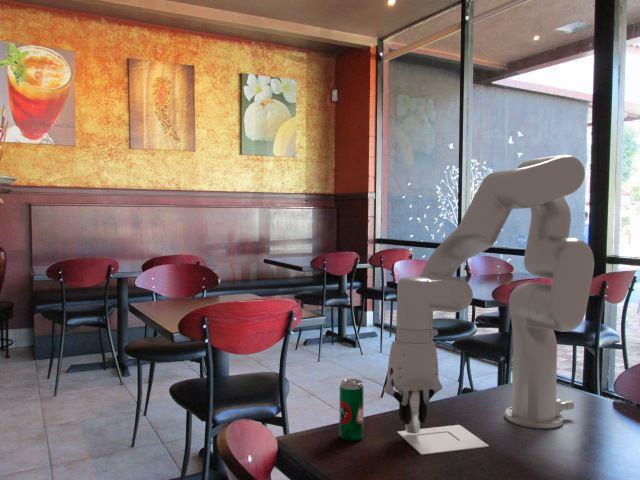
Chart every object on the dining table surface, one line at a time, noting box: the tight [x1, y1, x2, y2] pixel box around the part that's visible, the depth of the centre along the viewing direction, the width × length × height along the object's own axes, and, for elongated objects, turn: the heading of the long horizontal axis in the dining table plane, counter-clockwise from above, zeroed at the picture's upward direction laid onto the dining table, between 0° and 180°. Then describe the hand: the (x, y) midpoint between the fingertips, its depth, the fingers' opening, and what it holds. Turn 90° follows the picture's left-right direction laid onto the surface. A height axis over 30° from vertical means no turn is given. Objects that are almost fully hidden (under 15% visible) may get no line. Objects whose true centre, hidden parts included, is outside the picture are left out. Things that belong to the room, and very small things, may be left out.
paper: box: [397, 424, 490, 456], centre depth 118 cm, size 15×12×1 cm
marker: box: [404, 390, 421, 434], centre depth 119 cm, size 3×3×11 cm
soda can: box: [339, 378, 365, 442], centre depth 119 cm, size 5×5×12 cm
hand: (412, 420), depth 119 cm, fingers closed on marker, 3 cm apart
